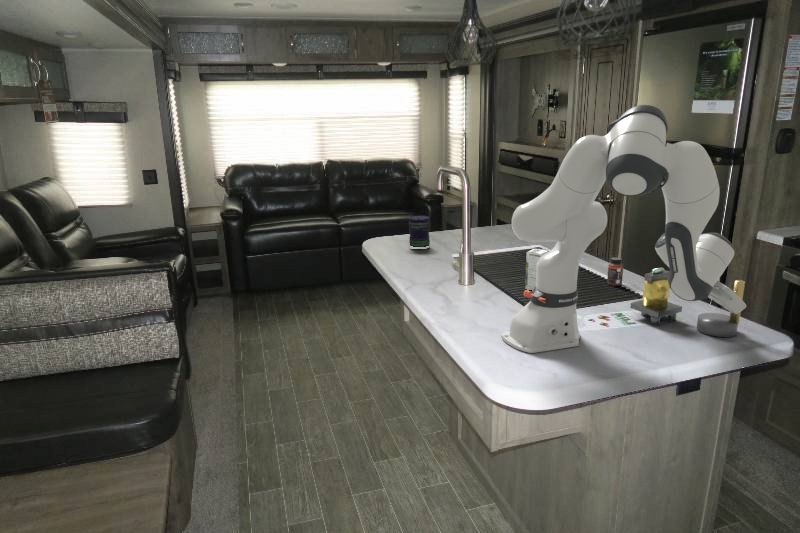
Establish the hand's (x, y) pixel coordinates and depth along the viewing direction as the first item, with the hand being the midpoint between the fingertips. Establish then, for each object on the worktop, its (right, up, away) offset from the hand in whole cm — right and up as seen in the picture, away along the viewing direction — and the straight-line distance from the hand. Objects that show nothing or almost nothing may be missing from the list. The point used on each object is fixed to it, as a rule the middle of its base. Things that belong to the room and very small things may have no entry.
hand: (731, 309), depth 150 cm
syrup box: (-43, +3, +46) cm, 63 cm away
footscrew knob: (-1, -7, +5) cm, 9 cm away
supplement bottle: (-13, +5, +49) cm, 51 cm away
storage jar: (-82, +21, +113) cm, 141 cm away
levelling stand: (-14, -4, +16) cm, 21 cm away
